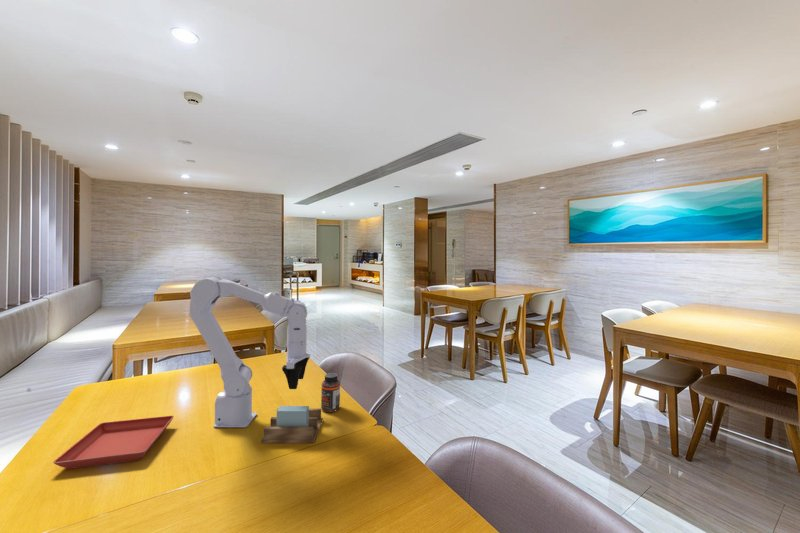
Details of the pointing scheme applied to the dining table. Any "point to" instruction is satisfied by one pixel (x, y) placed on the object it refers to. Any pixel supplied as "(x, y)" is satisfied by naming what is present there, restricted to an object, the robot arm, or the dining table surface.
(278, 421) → the grey-green rectangular block
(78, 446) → the plant saucer
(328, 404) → the supplement bottle
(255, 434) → the dining table surface
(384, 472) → the dining table surface
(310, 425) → the rack
